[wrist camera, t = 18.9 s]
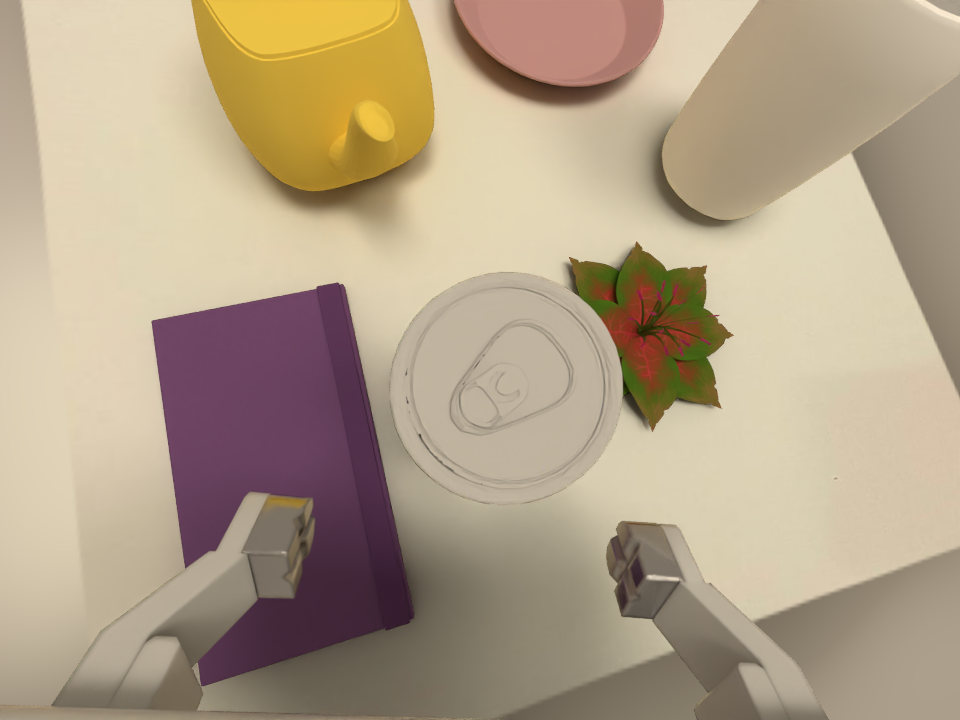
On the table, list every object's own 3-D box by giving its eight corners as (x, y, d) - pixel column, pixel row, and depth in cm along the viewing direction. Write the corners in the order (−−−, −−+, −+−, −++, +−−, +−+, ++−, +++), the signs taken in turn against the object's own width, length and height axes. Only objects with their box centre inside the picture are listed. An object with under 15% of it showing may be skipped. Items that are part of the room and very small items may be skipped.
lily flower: (541, 237, 27) (563, 196, 23) (720, 248, 29) (775, 212, 24) (545, 432, 25) (571, 430, 20) (739, 435, 26) (803, 432, 22)
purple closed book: (414, 614, 22) (414, 621, 21) (207, 680, 21) (197, 691, 20) (345, 287, 25) (342, 281, 24) (157, 323, 24) (147, 318, 23)
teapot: (484, 224, 27) (519, 85, 16) (310, 292, 25) (226, 182, 14) (367, -8, 29) (333, -261, 19) (199, 37, 27) (55, -220, 17)
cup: (729, 107, 31) (975, -169, 17) (786, 210, 30) (1099, 6, 16) (626, 140, 29) (803, -133, 15) (682, 250, 28) (928, 63, 14)
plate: (679, 87, 31) (696, 62, 29) (487, 126, 28) (491, 103, 26) (607, -75, 33) (619, -108, 31) (423, -51, 30) (423, -85, 28)
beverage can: (522, 385, 25) (651, 304, 11) (496, 482, 24) (602, 541, 9) (429, 357, 25) (430, 233, 10) (398, 454, 24) (350, 469, 9)
